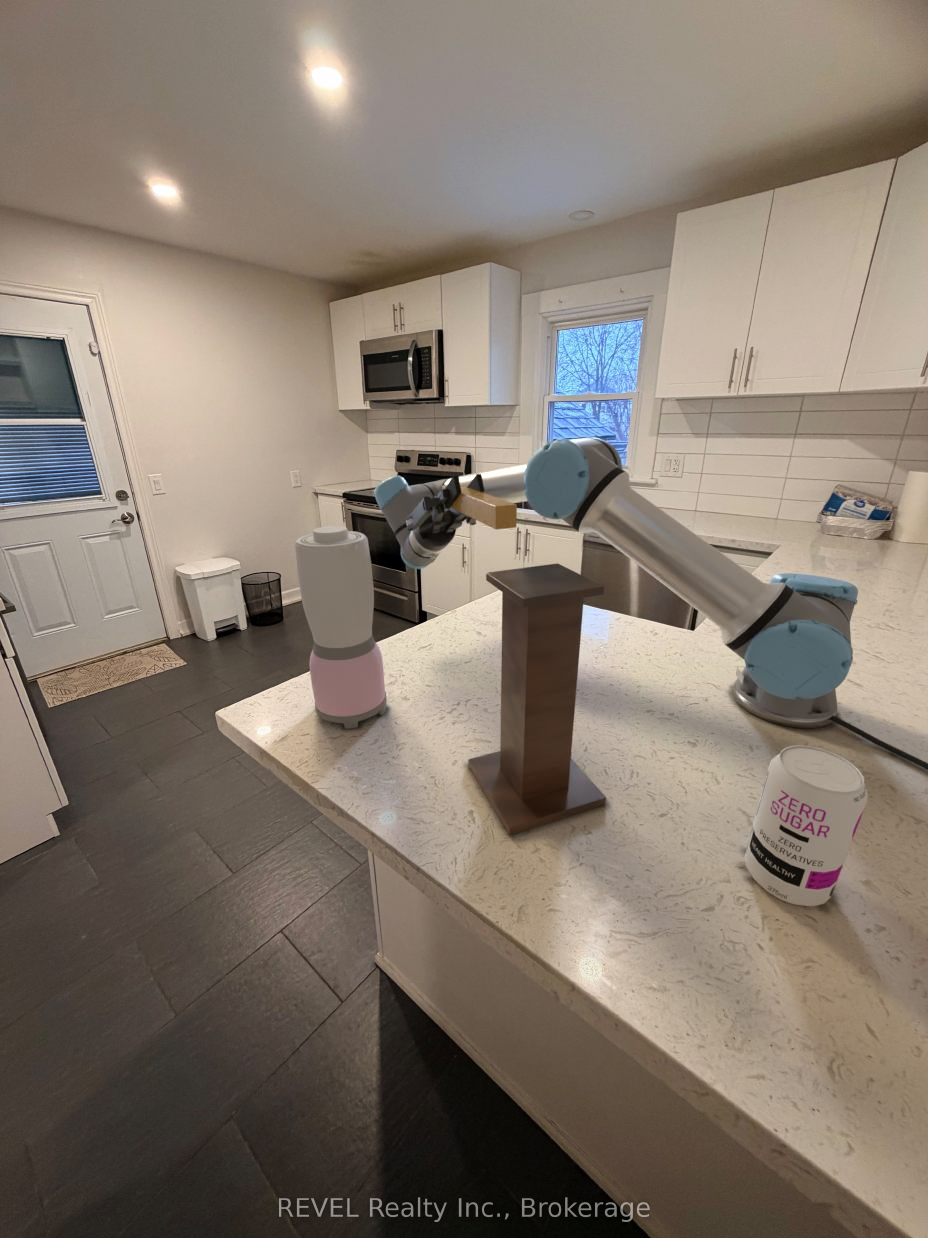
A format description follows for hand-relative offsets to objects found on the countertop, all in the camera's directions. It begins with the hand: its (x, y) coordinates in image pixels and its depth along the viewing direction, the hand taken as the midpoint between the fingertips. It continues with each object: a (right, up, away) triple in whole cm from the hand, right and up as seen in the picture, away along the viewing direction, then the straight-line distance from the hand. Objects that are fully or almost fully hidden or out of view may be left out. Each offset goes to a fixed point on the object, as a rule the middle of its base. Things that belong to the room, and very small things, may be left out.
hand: (469, 483), depth 74 cm
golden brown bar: (+1, -5, 0) cm, 5 cm away
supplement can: (+35, -49, -20) cm, 63 cm away
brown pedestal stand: (+9, -43, -5) cm, 45 cm away
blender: (-22, -36, +14) cm, 44 cm away
